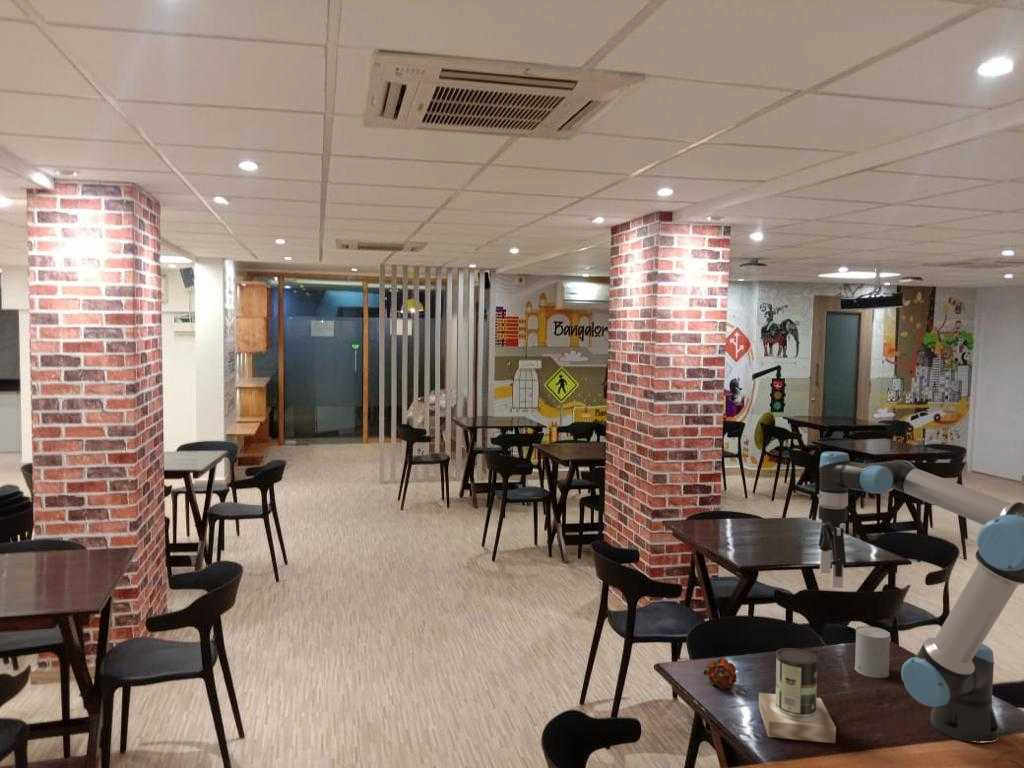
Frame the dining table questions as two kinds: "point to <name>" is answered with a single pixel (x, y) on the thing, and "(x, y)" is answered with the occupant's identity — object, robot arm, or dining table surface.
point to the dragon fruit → (721, 673)
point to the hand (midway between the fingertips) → (830, 580)
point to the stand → (796, 722)
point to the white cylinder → (872, 651)
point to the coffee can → (796, 682)
